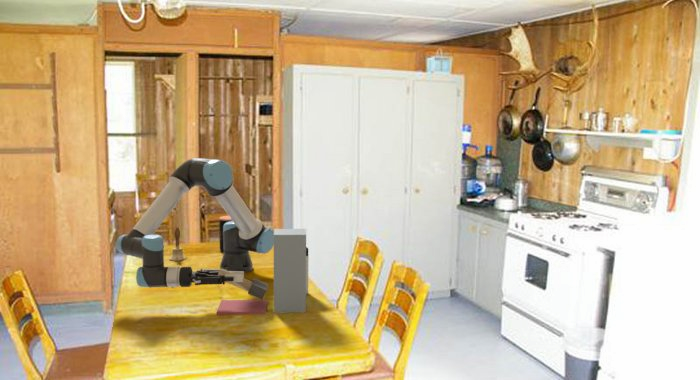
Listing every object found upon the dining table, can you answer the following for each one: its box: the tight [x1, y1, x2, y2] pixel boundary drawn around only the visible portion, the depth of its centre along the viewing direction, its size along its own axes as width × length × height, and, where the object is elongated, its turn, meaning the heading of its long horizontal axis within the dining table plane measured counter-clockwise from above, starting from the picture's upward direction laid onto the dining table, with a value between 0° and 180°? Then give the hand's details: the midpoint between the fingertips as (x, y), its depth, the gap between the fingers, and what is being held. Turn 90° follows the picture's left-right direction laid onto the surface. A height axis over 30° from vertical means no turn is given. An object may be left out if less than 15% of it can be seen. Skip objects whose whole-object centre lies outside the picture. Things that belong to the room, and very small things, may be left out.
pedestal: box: [273, 228, 307, 314], centre depth 219 cm, size 10×12×30 cm
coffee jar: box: [218, 215, 232, 254], centre depth 302 cm, size 11×11×18 cm
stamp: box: [218, 268, 269, 300], centre depth 218 cm, size 8×19×4 cm, turn 95°
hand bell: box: [168, 226, 187, 262], centre depth 285 cm, size 8×8×16 cm
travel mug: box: [306, 246, 309, 296], centre depth 236 cm, size 6×7×20 cm
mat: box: [215, 299, 268, 316], centre depth 220 cm, size 13×18×1 cm
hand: (243, 276), depth 218 cm, fingers closed on stamp, 3 cm apart
